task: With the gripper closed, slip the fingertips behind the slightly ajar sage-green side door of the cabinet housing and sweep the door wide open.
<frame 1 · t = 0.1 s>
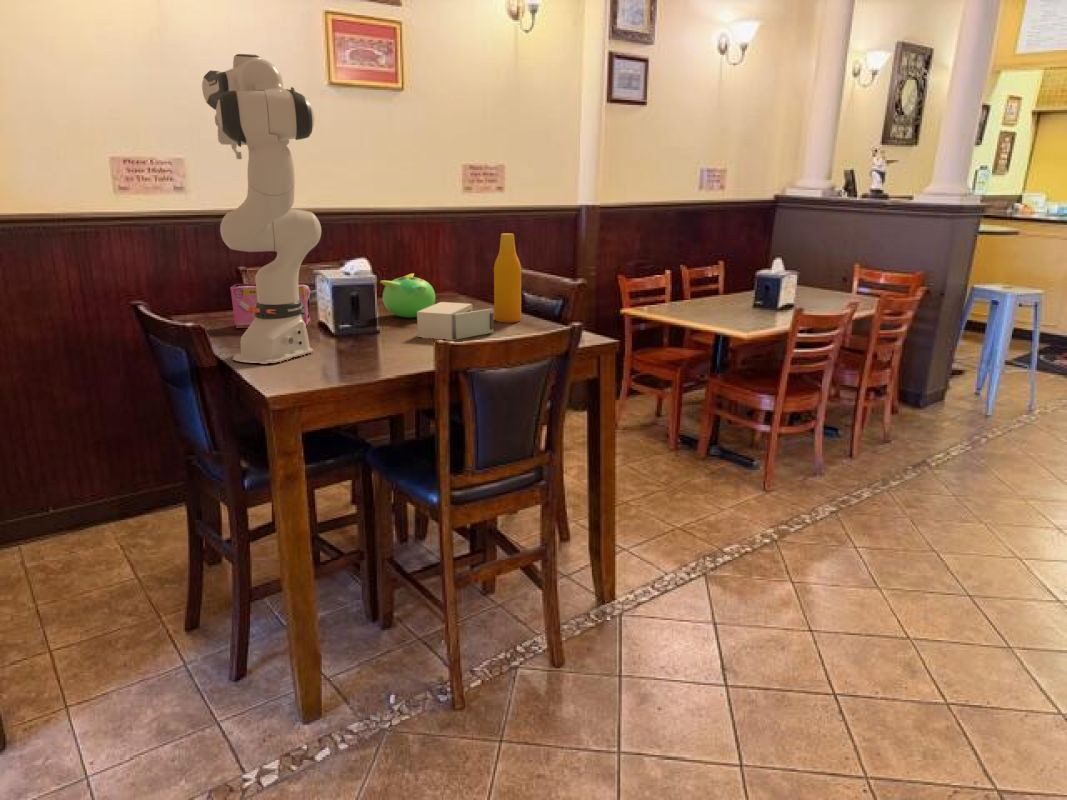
hand: (255, 158, 230), 52 cm above the table, tool tilted 20°, fingers open, 8 cm apart
side door: (473, 323, 231), point 4 cm above the table, hinge at 30.0°
cabinet housing: (446, 332, 237), on the table
beer bottle: (507, 320, 257), on the table
gum box: (273, 327, 245), on the table
green horned ball: (409, 317, 261), on the table
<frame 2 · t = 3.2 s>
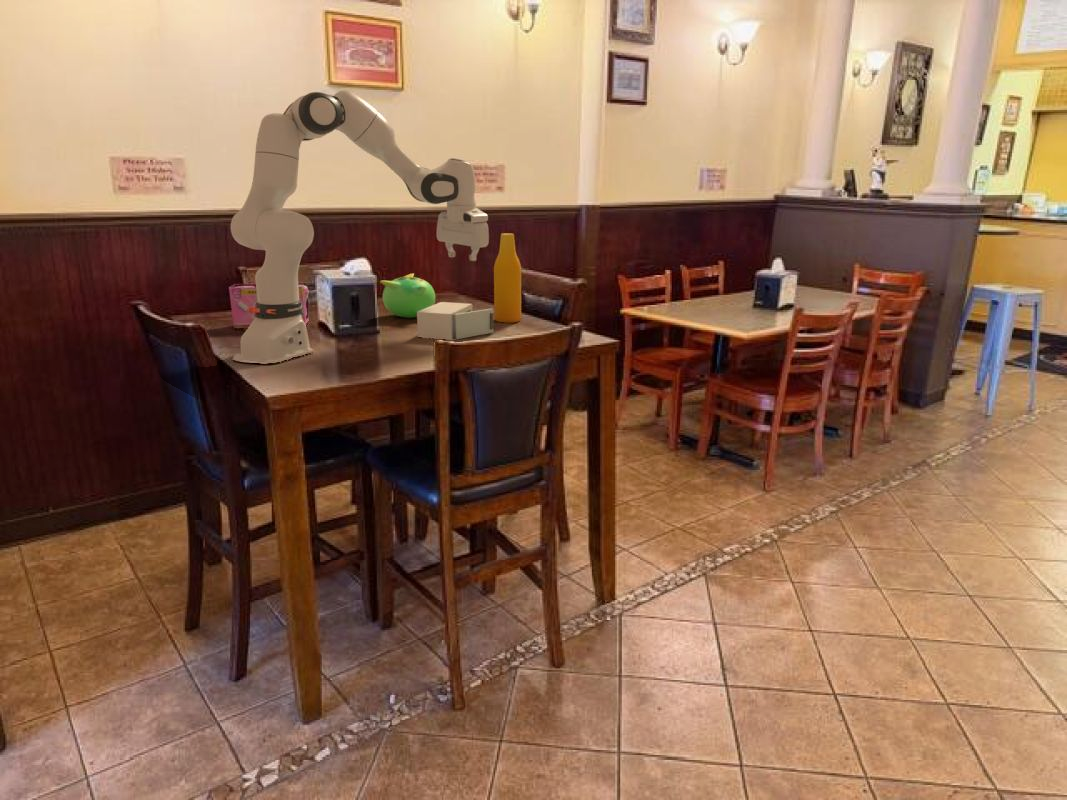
hand: (462, 258, 237), 22 cm above the table, tool pointing down, fingers open, 8 cm apart
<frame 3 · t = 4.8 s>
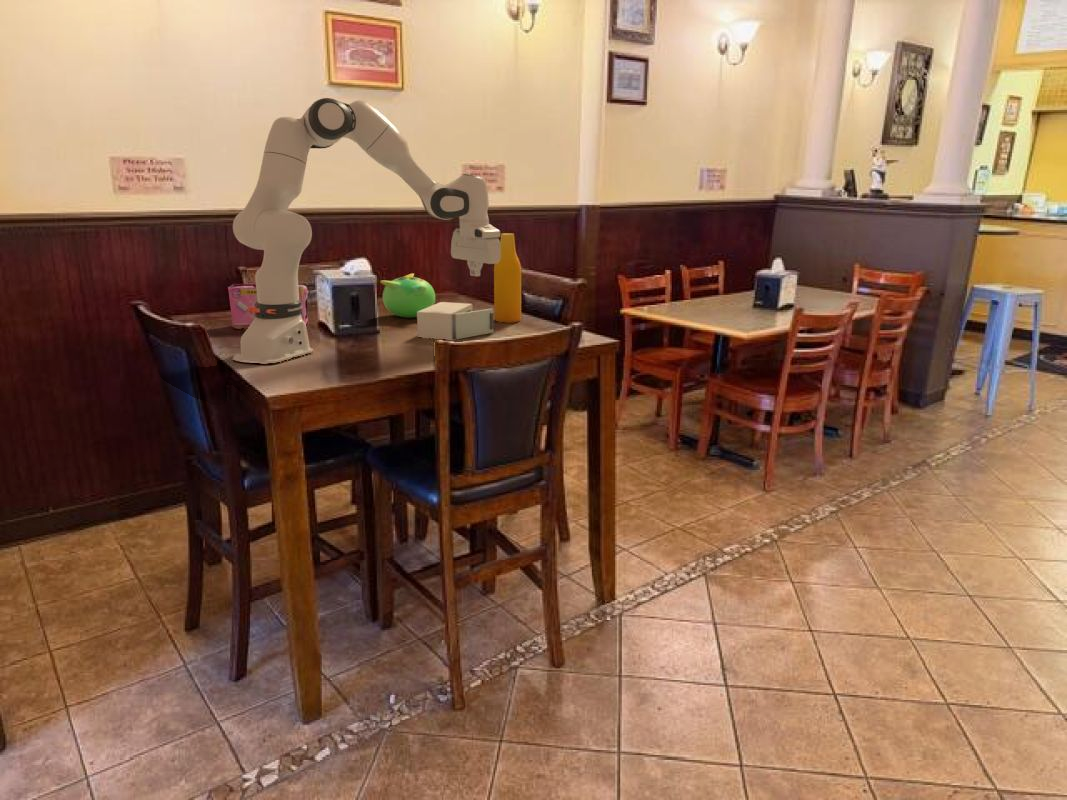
hand: (475, 275, 232), 18 cm above the table, tool pointing down, fingers closed
nothing on the table moved.
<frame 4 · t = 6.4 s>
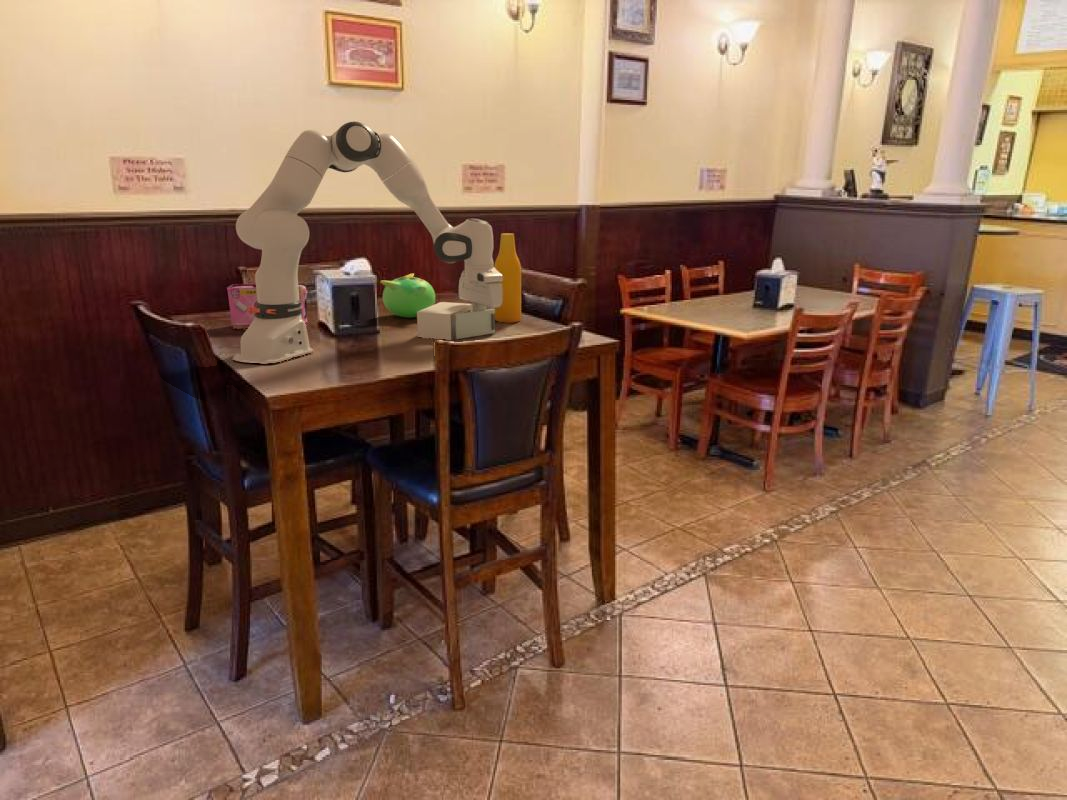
hand: (479, 317, 234), 5 cm above the table, tool pointing down, fingers closed
side door: (474, 324, 231), point 4 cm above the table, hinge at 33.2°, touching gripper
everything else where it was.
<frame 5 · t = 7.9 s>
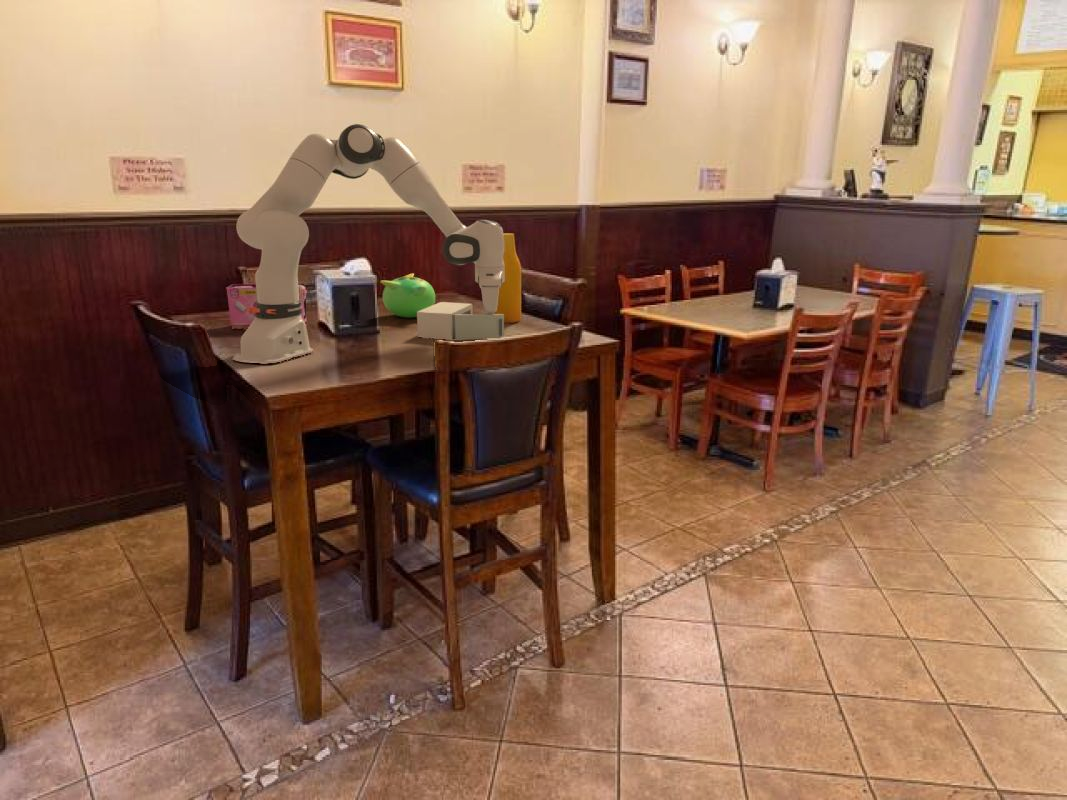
hand: (490, 321, 229), 5 cm above the table, tool pointing down, fingers closed
side door: (478, 327, 227), point 4 cm above the table, hinge at 69.6°, touching gripper
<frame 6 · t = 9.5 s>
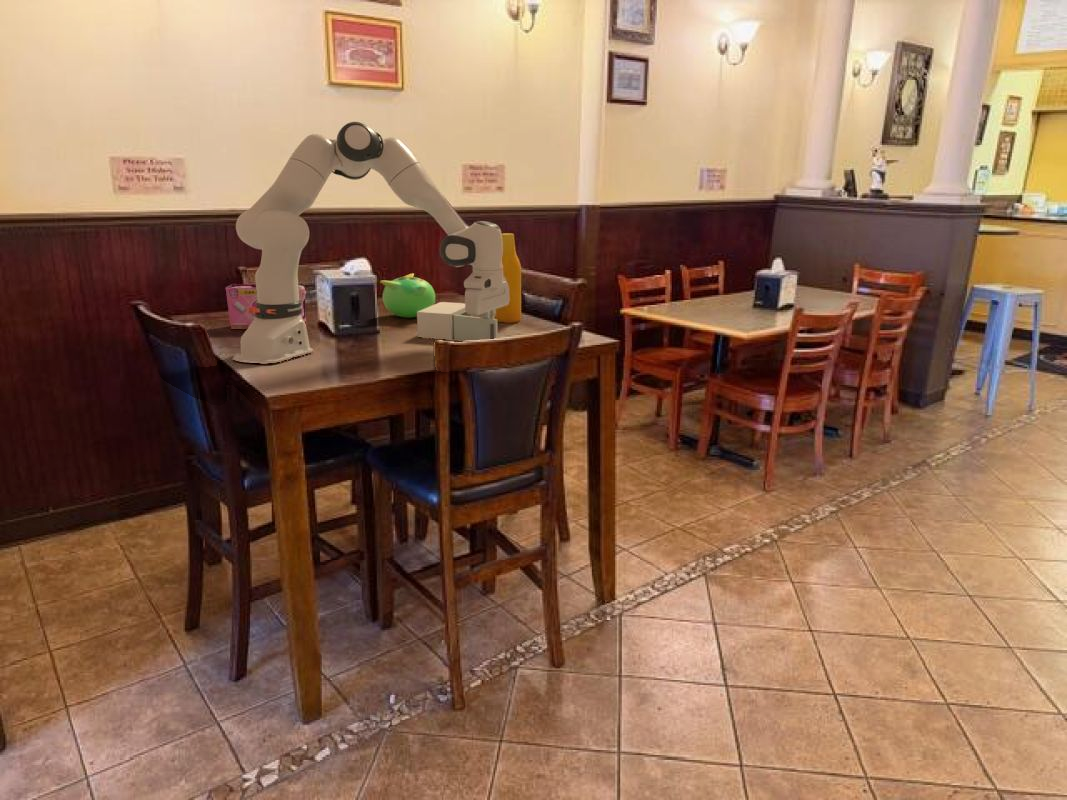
hand: (488, 325, 223), 5 cm above the table, tool pointing down, fingers closed
side door: (473, 329, 223), point 4 cm above the table, hinge at 101.6°, touching gripper
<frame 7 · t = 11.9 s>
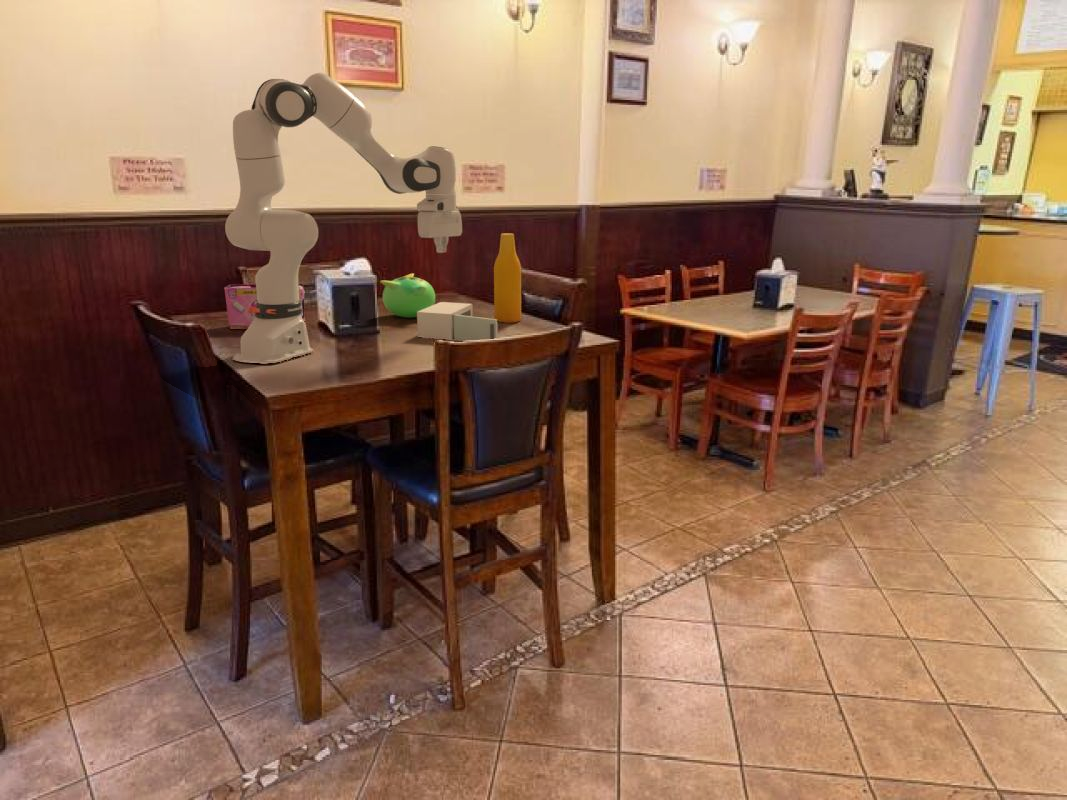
hand: (441, 252, 225), 26 cm above the table, tool pointing down, fingers closed
side door: (473, 329, 223), point 4 cm above the table, hinge at 101.6°
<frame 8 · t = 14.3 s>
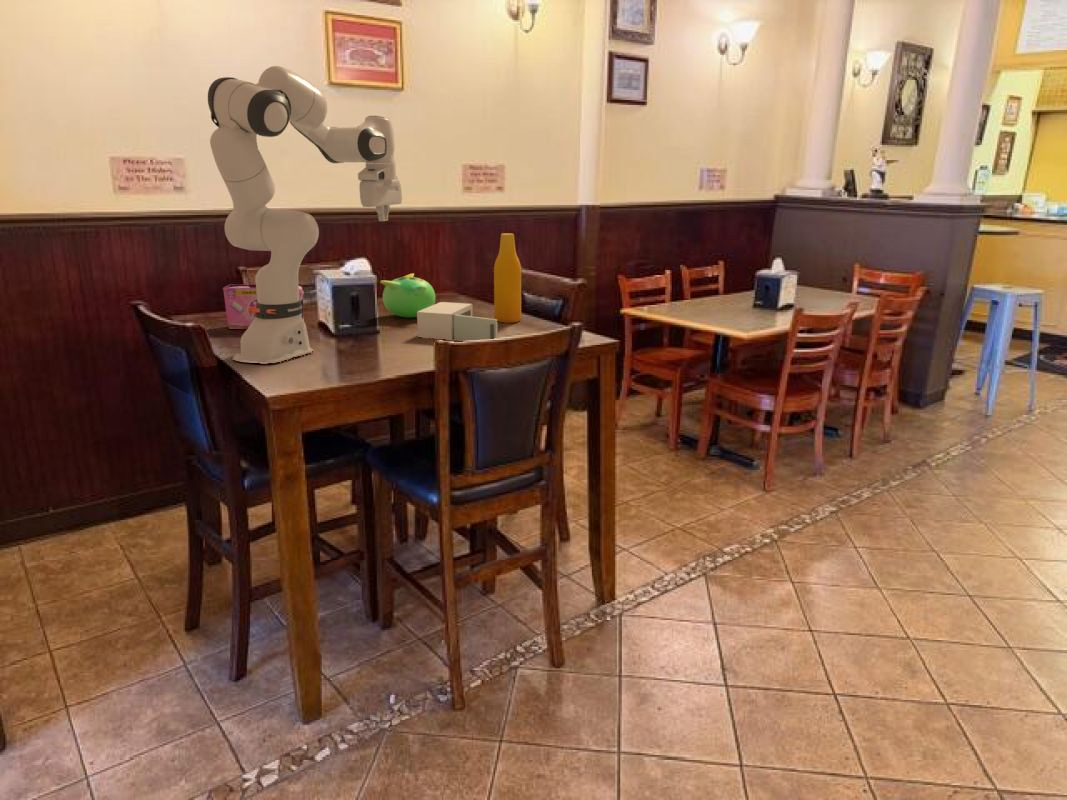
hand: (383, 220, 230), 34 cm above the table, tool pointing down, fingers closed
at the end: side door at +102° (first picture: +30°) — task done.
